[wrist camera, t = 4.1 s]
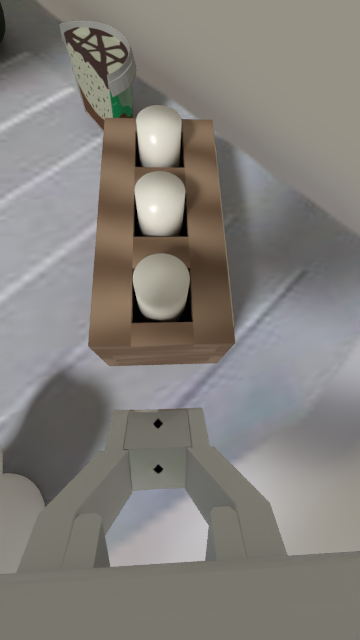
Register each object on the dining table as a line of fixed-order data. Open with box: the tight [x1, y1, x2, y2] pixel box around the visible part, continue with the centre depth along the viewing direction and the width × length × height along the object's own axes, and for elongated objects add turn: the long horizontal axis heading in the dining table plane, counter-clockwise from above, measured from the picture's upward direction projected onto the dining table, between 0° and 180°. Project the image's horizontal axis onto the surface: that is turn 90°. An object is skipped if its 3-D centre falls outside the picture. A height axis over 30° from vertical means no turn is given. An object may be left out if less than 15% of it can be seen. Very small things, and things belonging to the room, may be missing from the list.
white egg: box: [133, 253, 190, 323], centre depth 24 cm, size 4×4×5 cm
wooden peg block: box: [88, 118, 235, 366], centre depth 32 cm, size 26×12×9 cm, turn 2°
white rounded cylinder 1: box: [136, 105, 182, 168], centre depth 30 cm, size 4×4×5 cm
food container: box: [60, 20, 136, 133], centre depth 39 cm, size 12×6×10 cm, turn 36°
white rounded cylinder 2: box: [135, 171, 185, 237], centre depth 27 cm, size 4×4×5 cm
